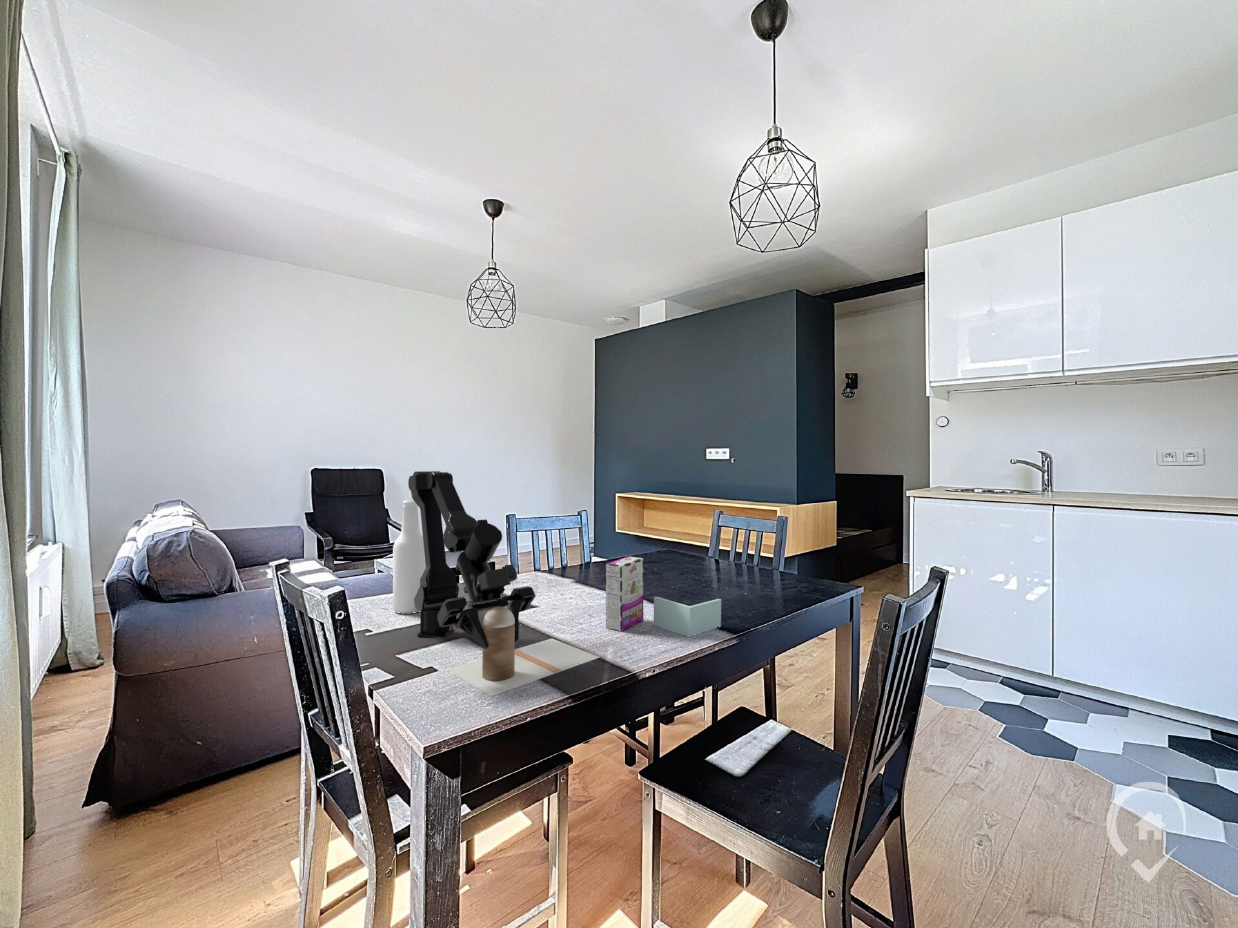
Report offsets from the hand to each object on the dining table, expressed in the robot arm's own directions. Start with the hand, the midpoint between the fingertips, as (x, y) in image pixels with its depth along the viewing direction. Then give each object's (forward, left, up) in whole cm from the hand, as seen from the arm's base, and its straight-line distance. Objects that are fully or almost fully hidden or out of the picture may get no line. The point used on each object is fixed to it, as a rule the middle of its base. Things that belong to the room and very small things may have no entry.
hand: (502, 644), depth 102 cm
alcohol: (-37, +44, -7) cm, 58 cm away
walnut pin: (-1, +1, -6) cm, 6 cm away
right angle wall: (+38, +36, -8) cm, 53 cm away
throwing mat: (+3, +7, -7) cm, 10 cm away
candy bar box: (+22, +36, -7) cm, 43 cm away
